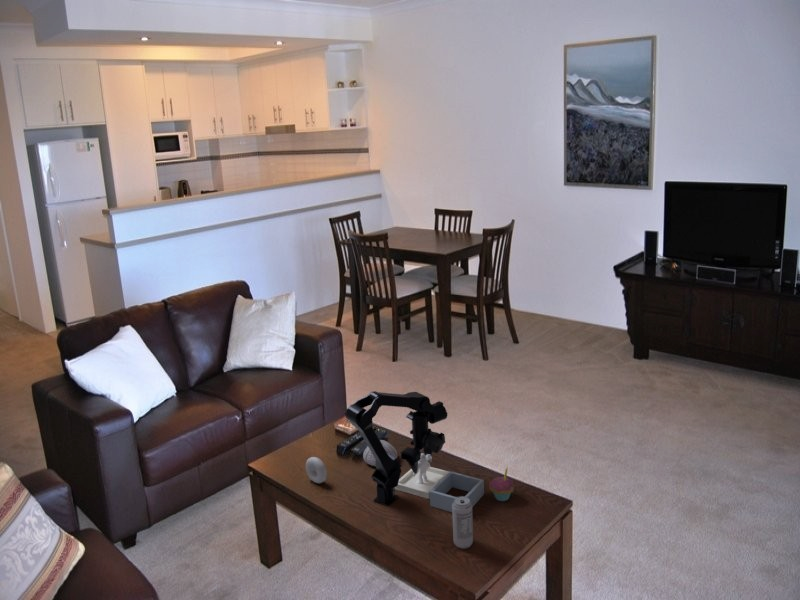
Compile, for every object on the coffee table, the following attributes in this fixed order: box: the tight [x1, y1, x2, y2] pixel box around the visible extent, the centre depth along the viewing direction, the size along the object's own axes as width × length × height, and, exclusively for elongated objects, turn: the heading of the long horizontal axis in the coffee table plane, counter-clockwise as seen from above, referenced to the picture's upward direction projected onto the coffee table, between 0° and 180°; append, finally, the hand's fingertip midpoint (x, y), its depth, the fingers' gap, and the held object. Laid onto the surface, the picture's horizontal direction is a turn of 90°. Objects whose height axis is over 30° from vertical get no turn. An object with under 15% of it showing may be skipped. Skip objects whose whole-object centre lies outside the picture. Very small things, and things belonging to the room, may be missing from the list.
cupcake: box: [488, 466, 515, 502], centre depth 233 cm, size 9×8×12 cm
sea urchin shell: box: [362, 439, 398, 467], centre depth 263 cm, size 13×14×8 cm
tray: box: [395, 466, 450, 500], centre depth 246 cm, size 16×14×2 cm
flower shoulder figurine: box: [413, 453, 433, 484], centre depth 244 cm, size 9×4×12 cm, turn 135°
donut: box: [305, 456, 328, 484], centre depth 249 cm, size 10×4×10 cm, turn 48°
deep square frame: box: [429, 470, 485, 513], centre depth 233 cm, size 15×13×6 cm
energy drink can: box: [451, 495, 474, 550], centre depth 208 cm, size 6×6×15 cm
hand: (422, 467), depth 244 cm, fingers open, 9 cm apart
